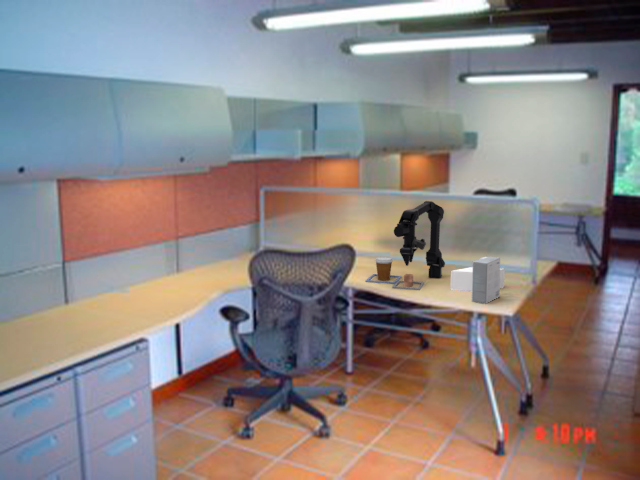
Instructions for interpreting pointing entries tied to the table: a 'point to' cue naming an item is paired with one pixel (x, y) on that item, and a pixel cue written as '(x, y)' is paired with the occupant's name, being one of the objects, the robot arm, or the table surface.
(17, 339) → the table surface
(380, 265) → the disposable coffee cup
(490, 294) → the hard drive box
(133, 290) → the table surface
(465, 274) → the white box
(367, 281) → the frame cup
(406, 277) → the block
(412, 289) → the frame empty
